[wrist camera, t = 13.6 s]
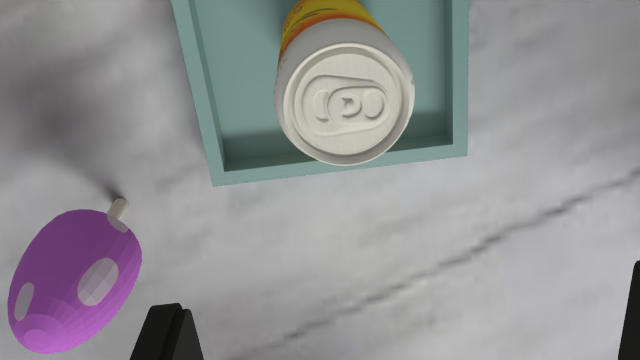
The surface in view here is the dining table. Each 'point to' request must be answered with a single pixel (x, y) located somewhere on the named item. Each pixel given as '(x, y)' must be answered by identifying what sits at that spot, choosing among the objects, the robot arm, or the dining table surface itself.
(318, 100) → the beer can
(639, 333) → the robot arm
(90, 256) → the toy
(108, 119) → the dining table surface
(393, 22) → the tray
